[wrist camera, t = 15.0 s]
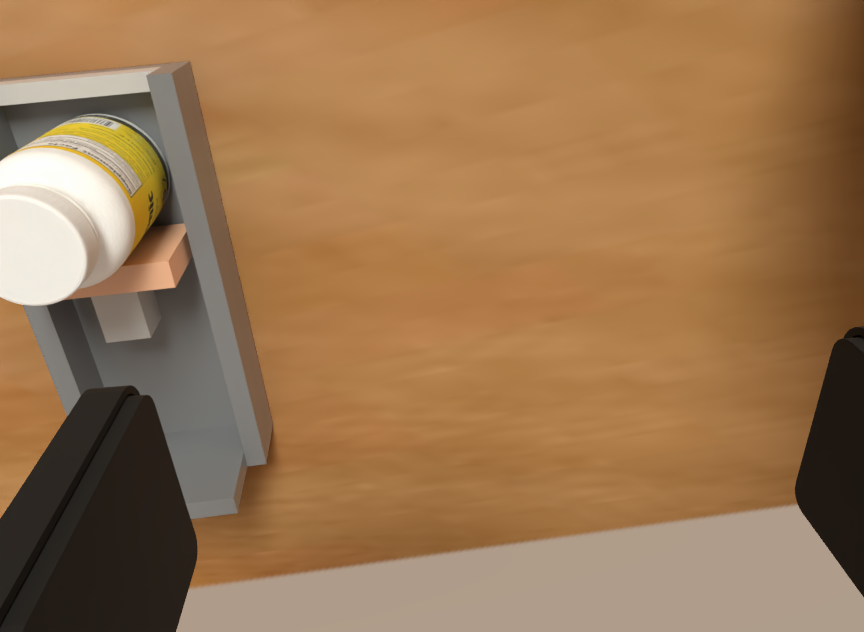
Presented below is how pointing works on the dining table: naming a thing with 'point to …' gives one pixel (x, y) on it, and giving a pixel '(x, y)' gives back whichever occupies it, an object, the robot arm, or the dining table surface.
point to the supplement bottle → (76, 206)
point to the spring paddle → (140, 284)
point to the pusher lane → (179, 307)
